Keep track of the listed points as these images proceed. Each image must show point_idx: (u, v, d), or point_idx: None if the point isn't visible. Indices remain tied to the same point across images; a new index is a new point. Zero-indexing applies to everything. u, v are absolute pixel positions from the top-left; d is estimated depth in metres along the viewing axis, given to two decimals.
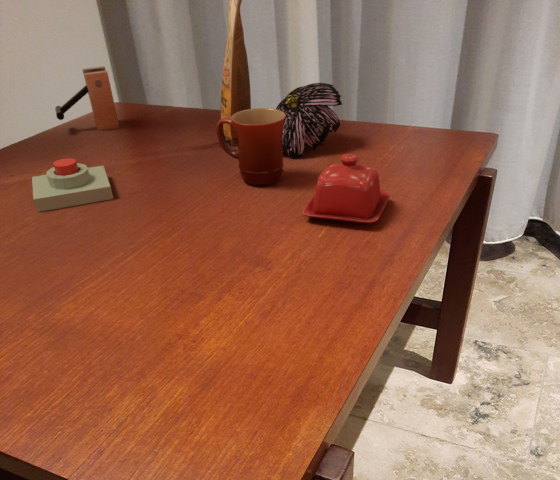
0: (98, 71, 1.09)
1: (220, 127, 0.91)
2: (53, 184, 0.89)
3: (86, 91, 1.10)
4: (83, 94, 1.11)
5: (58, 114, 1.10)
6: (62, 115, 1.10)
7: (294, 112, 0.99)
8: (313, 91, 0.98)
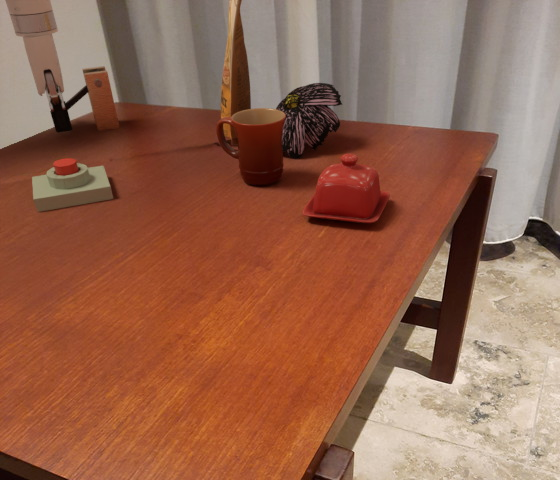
0: (98, 71, 1.09)
1: (220, 127, 0.91)
2: (53, 184, 0.89)
3: (86, 91, 1.10)
4: (83, 94, 1.11)
5: None
6: None
7: (294, 112, 0.99)
8: (313, 91, 0.98)
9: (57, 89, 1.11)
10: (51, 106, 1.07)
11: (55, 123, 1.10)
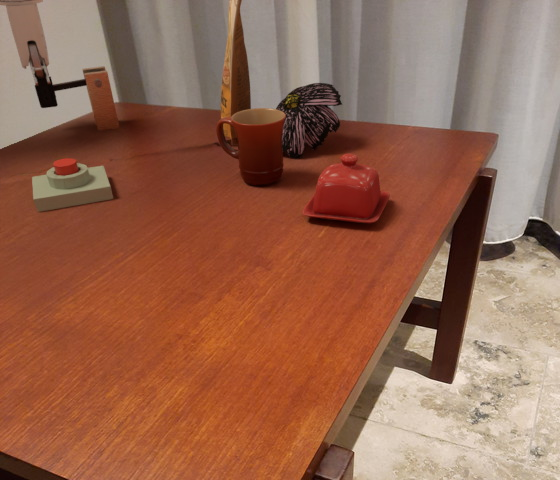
0: None
1: (220, 127, 0.91)
2: (53, 184, 0.89)
3: (82, 84, 1.09)
4: (77, 85, 1.09)
5: None
6: None
7: (294, 112, 0.99)
8: (313, 91, 0.98)
9: (42, 63, 1.08)
10: (35, 80, 1.03)
11: (40, 98, 1.06)
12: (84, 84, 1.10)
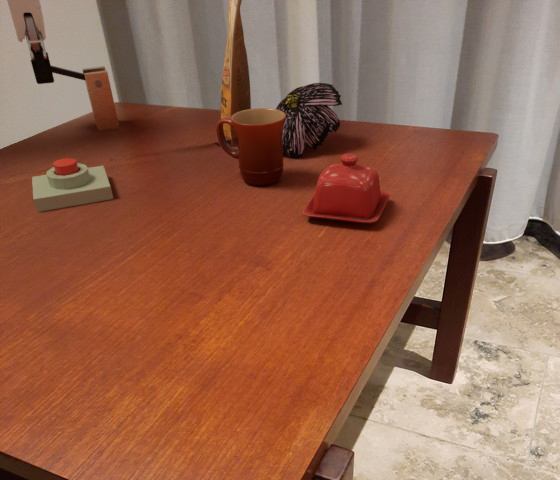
0: None
1: (220, 127, 0.91)
2: (53, 184, 0.89)
3: (81, 77, 1.09)
4: (76, 76, 1.08)
5: None
6: None
7: (294, 112, 0.99)
8: (313, 91, 0.98)
9: (39, 38, 1.05)
10: (31, 54, 1.01)
11: (36, 73, 1.04)
12: (83, 78, 1.09)
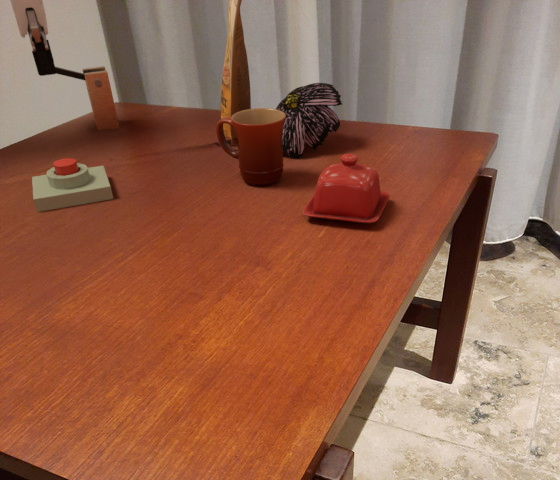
0: None
1: (220, 127, 0.91)
2: (53, 184, 0.89)
3: (81, 77, 1.09)
4: (76, 77, 1.08)
5: None
6: None
7: (294, 112, 0.99)
8: (313, 91, 0.98)
9: None
10: (33, 45, 0.98)
11: (37, 65, 1.01)
12: (83, 78, 1.09)
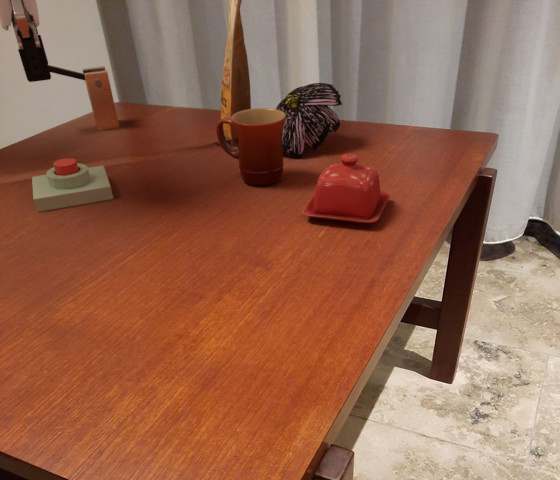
0: None
1: (220, 127, 0.91)
2: (53, 184, 0.89)
3: (81, 77, 1.09)
4: (76, 77, 1.08)
5: None
6: None
7: (294, 112, 0.99)
8: (313, 91, 0.98)
9: None
10: (19, 41, 0.73)
11: (26, 68, 0.76)
12: (83, 78, 1.09)
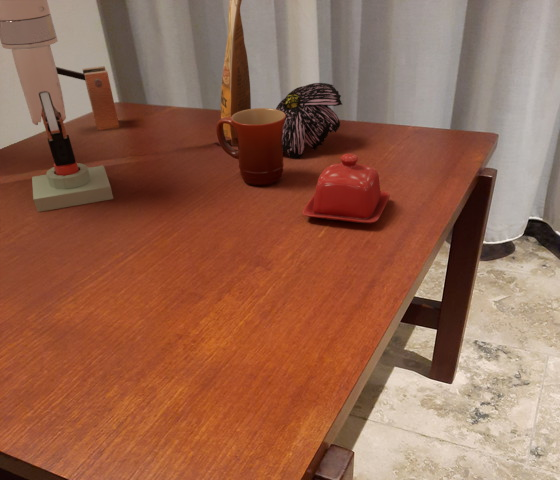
0: None
1: (220, 127, 0.91)
2: (53, 184, 0.89)
3: (81, 77, 1.09)
4: (76, 77, 1.08)
5: None
6: None
7: (294, 112, 0.99)
8: (313, 91, 0.98)
9: (57, 116, 0.86)
10: (49, 134, 0.85)
11: (54, 155, 0.87)
12: (83, 78, 1.09)
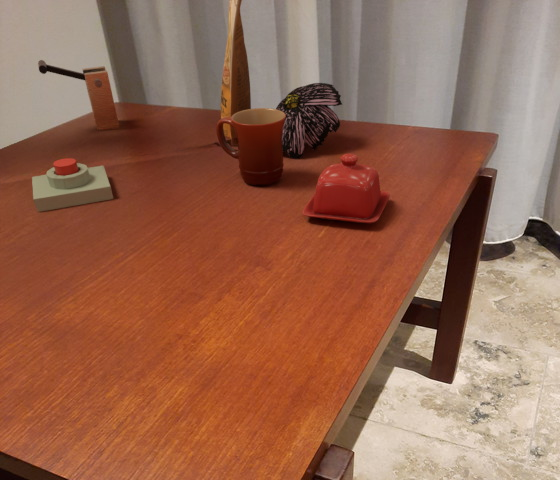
0: None
1: (220, 127, 0.91)
2: (53, 184, 0.89)
3: (81, 77, 1.09)
4: (76, 77, 1.08)
5: (42, 67, 1.04)
6: (45, 71, 1.04)
7: (294, 112, 0.99)
8: (313, 91, 0.98)
9: None
10: None
11: None
12: (83, 78, 1.09)
